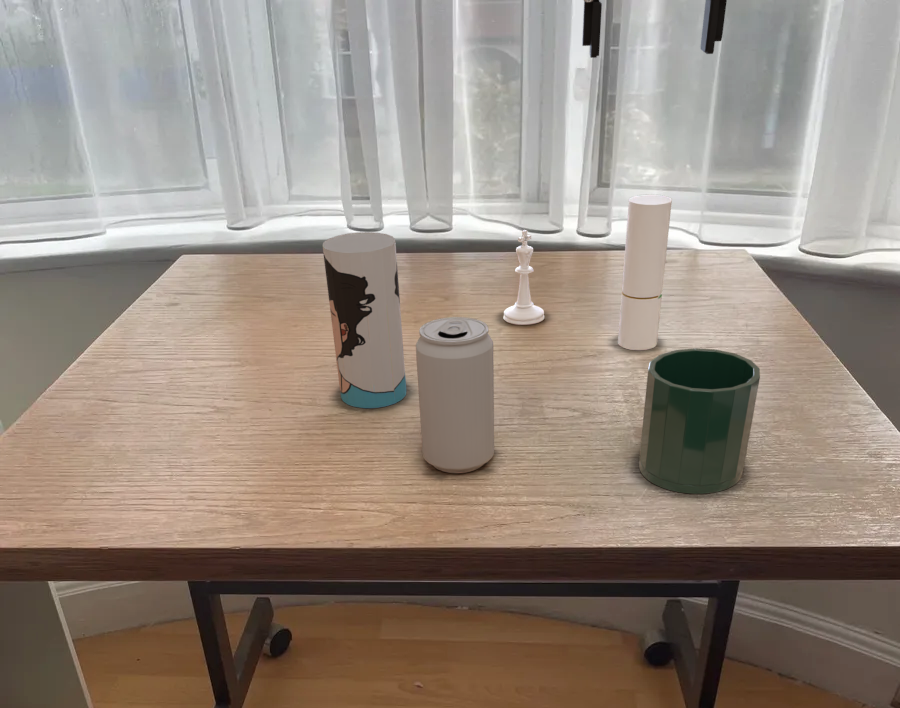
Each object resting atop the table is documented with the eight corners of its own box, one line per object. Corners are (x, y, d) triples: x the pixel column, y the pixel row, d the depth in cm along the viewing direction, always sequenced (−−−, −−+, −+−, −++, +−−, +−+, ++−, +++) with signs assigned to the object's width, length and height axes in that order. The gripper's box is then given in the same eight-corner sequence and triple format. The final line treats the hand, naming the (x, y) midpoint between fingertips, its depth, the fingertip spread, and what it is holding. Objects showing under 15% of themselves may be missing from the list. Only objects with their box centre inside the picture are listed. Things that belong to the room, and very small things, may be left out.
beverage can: (417, 476, 78) (408, 341, 71) (429, 441, 83) (421, 313, 76) (490, 478, 77) (488, 342, 70) (497, 443, 82) (496, 314, 75)
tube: (639, 353, 98) (652, 207, 89) (609, 342, 100) (620, 200, 91) (665, 342, 100) (680, 199, 91) (635, 332, 103) (647, 192, 94)
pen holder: (742, 449, 79) (759, 351, 74) (741, 498, 73) (760, 395, 67) (643, 441, 81) (653, 345, 76) (634, 488, 75) (644, 387, 69)
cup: (391, 375, 95) (379, 228, 86) (417, 398, 91) (406, 245, 82) (331, 389, 93) (312, 239, 84) (354, 413, 88) (336, 257, 79)
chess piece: (494, 318, 108) (494, 231, 102) (523, 307, 111) (524, 222, 105) (524, 328, 105) (525, 239, 99) (553, 317, 108) (555, 229, 102)
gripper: (556, -210, 65) (549, 62, 76) (801, -224, 64) (760, 56, 74) (556, -199, 71) (549, 52, 82) (780, -212, 70) (744, 45, 80)
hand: (650, 53), depth 78 cm, fingers open, 9 cm apart
